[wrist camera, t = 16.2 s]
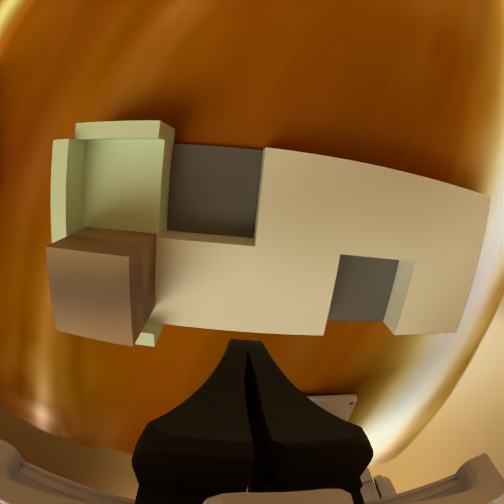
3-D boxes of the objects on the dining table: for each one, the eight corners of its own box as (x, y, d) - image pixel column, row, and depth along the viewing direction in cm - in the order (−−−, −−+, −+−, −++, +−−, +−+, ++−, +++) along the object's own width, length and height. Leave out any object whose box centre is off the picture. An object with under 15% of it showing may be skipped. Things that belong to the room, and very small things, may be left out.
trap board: (438, 328, 24) (464, 354, 19) (90, 307, 22) (64, 335, 17) (473, 181, 20) (509, 187, 16) (89, 130, 18) (55, 123, 14)
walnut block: (155, 306, 19) (133, 346, 15) (90, 296, 19) (56, 330, 14) (156, 233, 18) (129, 256, 13) (87, 226, 18) (45, 246, 13)
